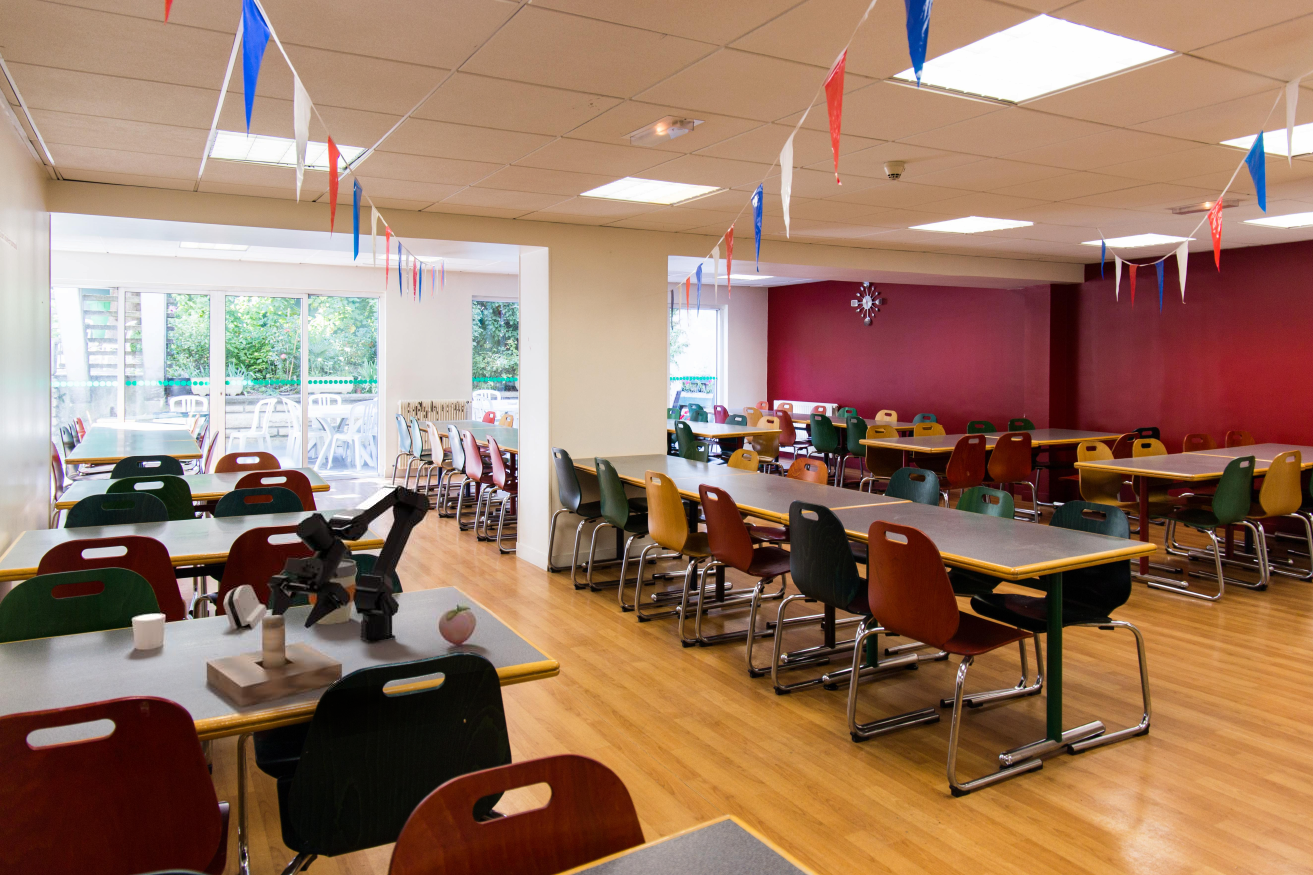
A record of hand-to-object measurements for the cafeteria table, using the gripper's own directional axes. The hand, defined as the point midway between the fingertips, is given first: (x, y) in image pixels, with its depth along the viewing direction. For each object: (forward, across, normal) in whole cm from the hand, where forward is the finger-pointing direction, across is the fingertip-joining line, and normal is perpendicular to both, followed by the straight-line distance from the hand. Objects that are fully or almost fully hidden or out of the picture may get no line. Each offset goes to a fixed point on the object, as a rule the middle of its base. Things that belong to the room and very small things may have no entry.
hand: (289, 624), depth 182 cm
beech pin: (+10, 0, +4) cm, 11 cm away
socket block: (+11, 0, +5) cm, 12 cm away
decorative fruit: (-14, +21, +30) cm, 39 cm away
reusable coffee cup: (-18, -22, +34) cm, 44 cm away
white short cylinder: (+6, -45, +10) cm, 46 cm away
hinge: (-11, -42, +28) cm, 51 cm away
